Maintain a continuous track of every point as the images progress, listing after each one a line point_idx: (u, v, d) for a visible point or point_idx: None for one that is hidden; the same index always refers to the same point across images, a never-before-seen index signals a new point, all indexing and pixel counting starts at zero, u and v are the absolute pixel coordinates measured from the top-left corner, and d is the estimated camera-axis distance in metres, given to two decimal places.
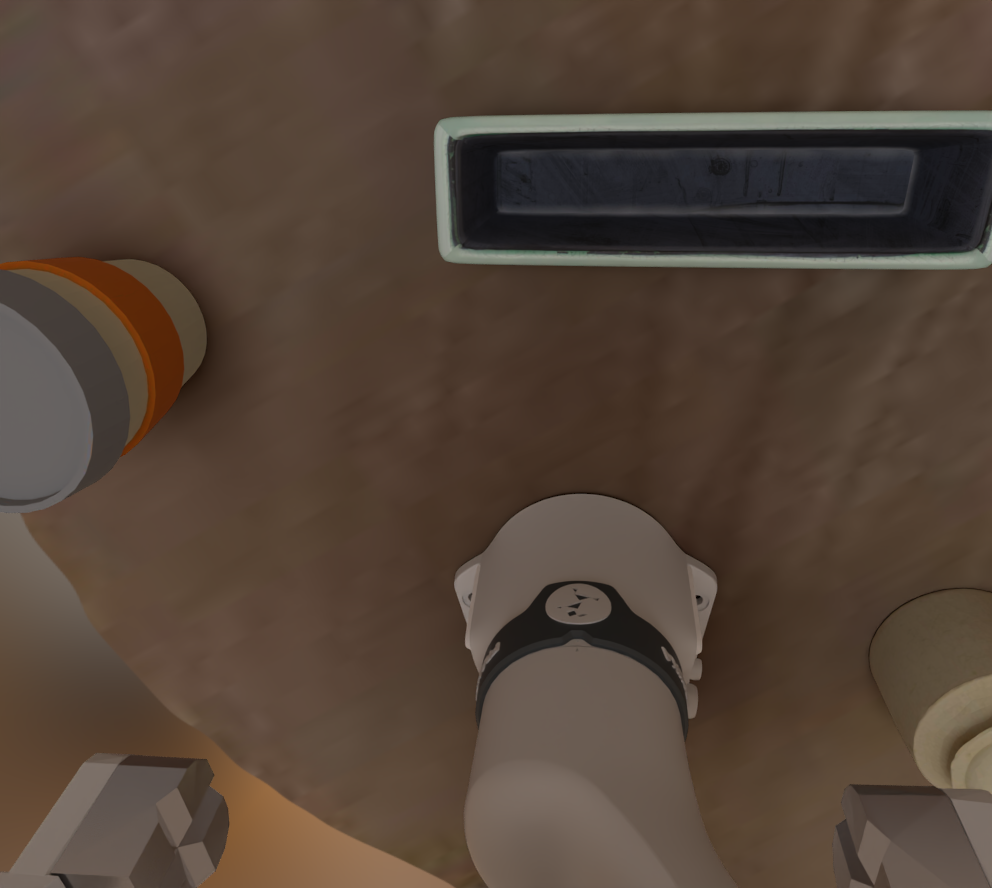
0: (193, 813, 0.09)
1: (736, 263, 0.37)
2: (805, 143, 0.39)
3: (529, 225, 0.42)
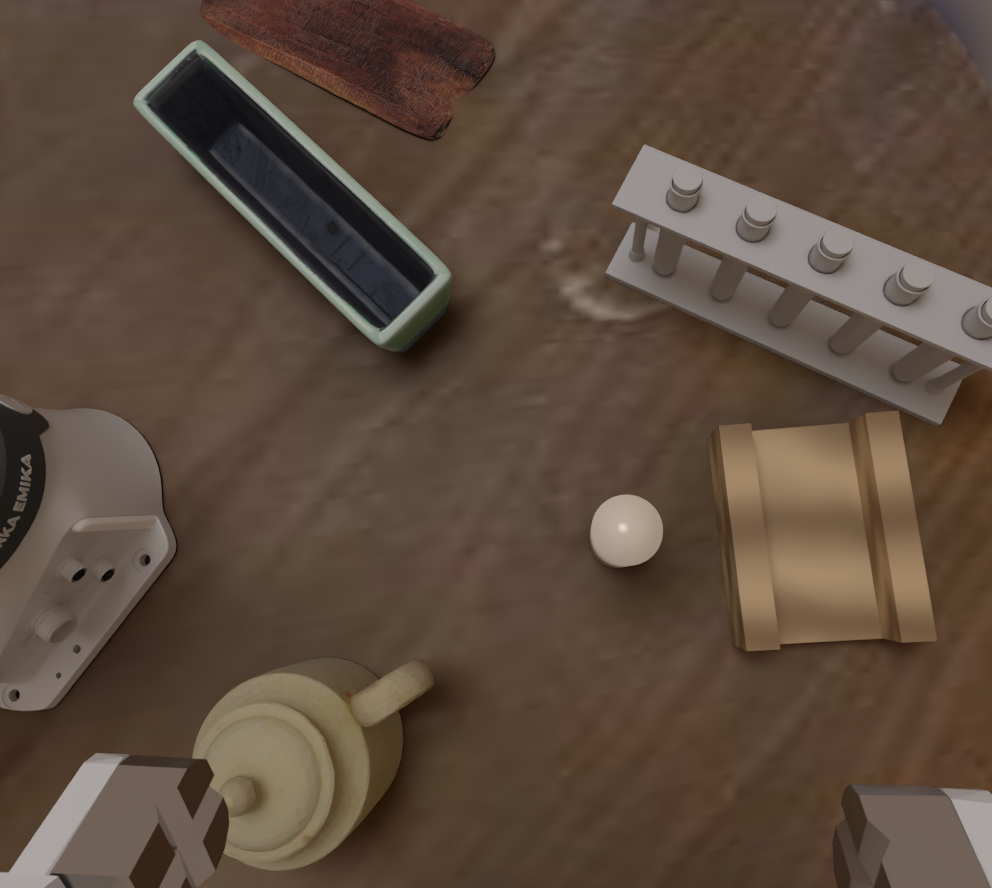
0: (193, 813, 0.09)
1: (261, 229, 0.51)
2: (372, 238, 0.55)
3: (207, 155, 0.57)
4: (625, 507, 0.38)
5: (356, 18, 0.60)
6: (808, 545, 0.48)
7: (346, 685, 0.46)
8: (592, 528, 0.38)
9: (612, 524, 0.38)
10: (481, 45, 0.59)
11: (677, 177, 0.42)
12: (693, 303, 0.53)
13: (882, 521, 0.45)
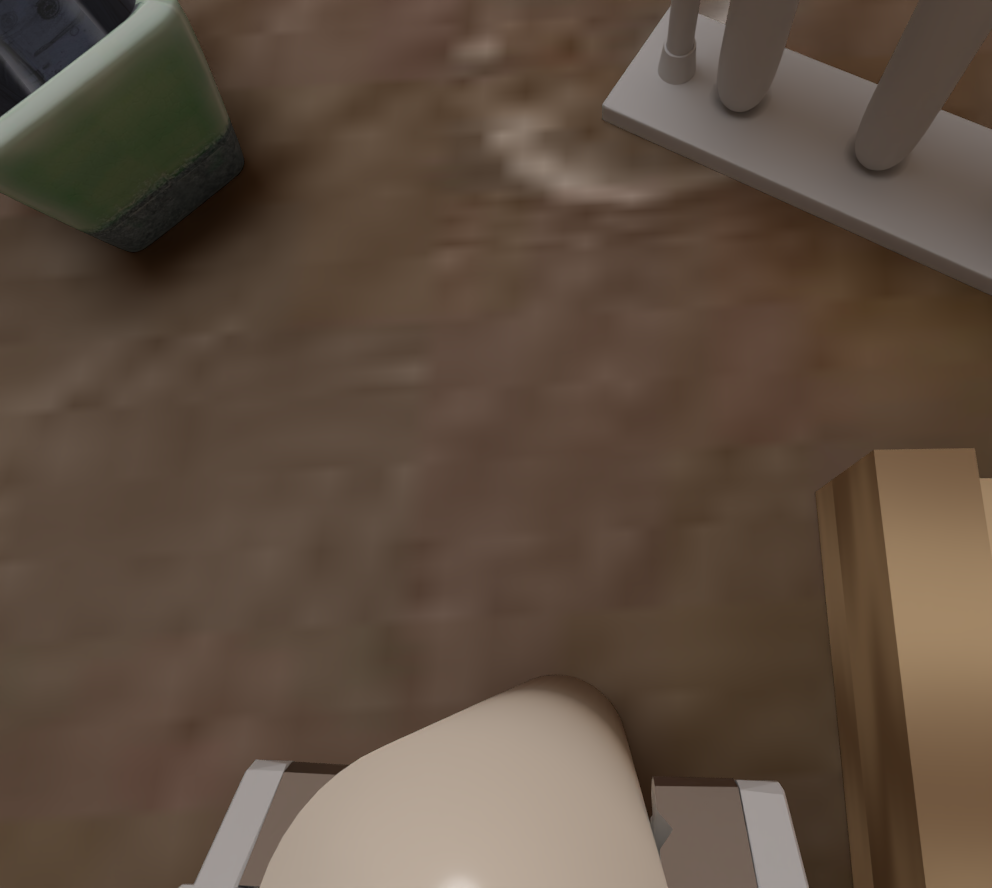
0: None
1: None
2: (92, 3, 0.25)
3: None
4: (463, 810, 0.06)
5: None
6: None
7: None
8: None
9: None
10: None
11: None
12: (808, 175, 0.22)
13: None
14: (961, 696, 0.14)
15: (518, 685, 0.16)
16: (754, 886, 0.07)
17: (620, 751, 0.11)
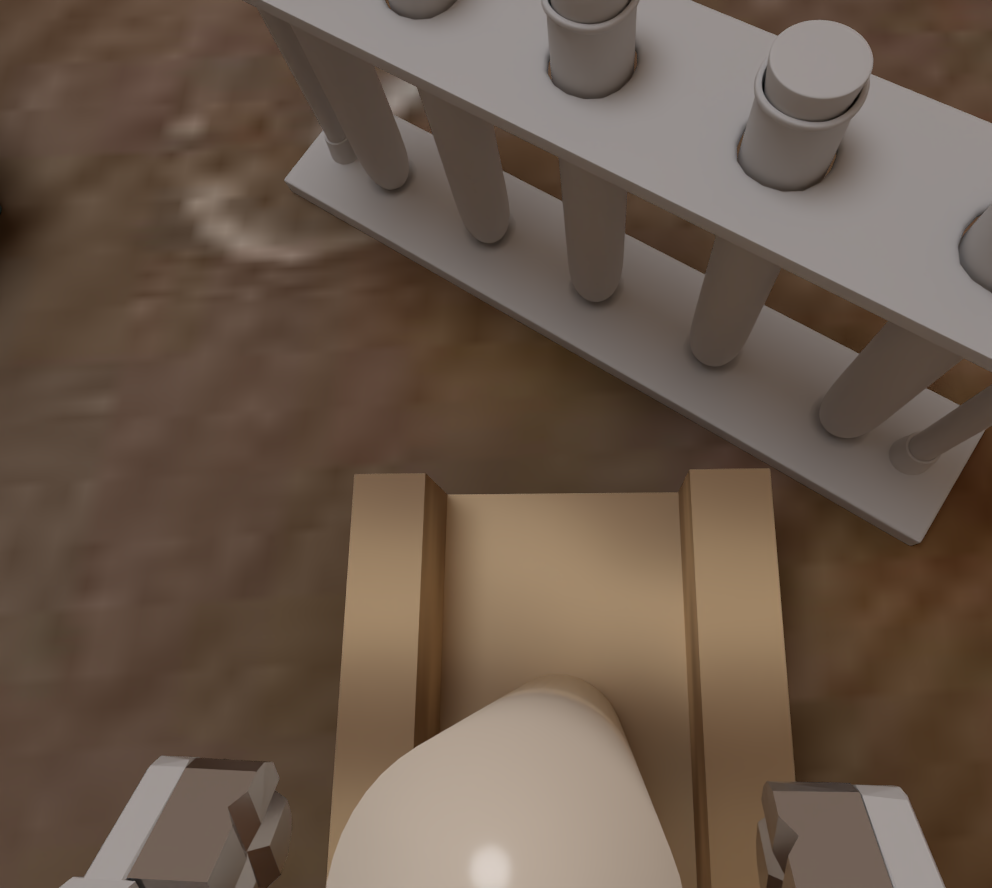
0: (262, 816, 0.09)
1: None
2: None
3: None
4: (503, 790, 0.08)
5: None
6: None
7: None
8: (331, 886, 0.08)
9: (434, 877, 0.07)
10: None
11: None
12: (433, 246, 0.26)
13: (703, 749, 0.17)
14: (381, 662, 0.19)
15: (524, 684, 0.18)
16: None
17: (624, 743, 0.12)
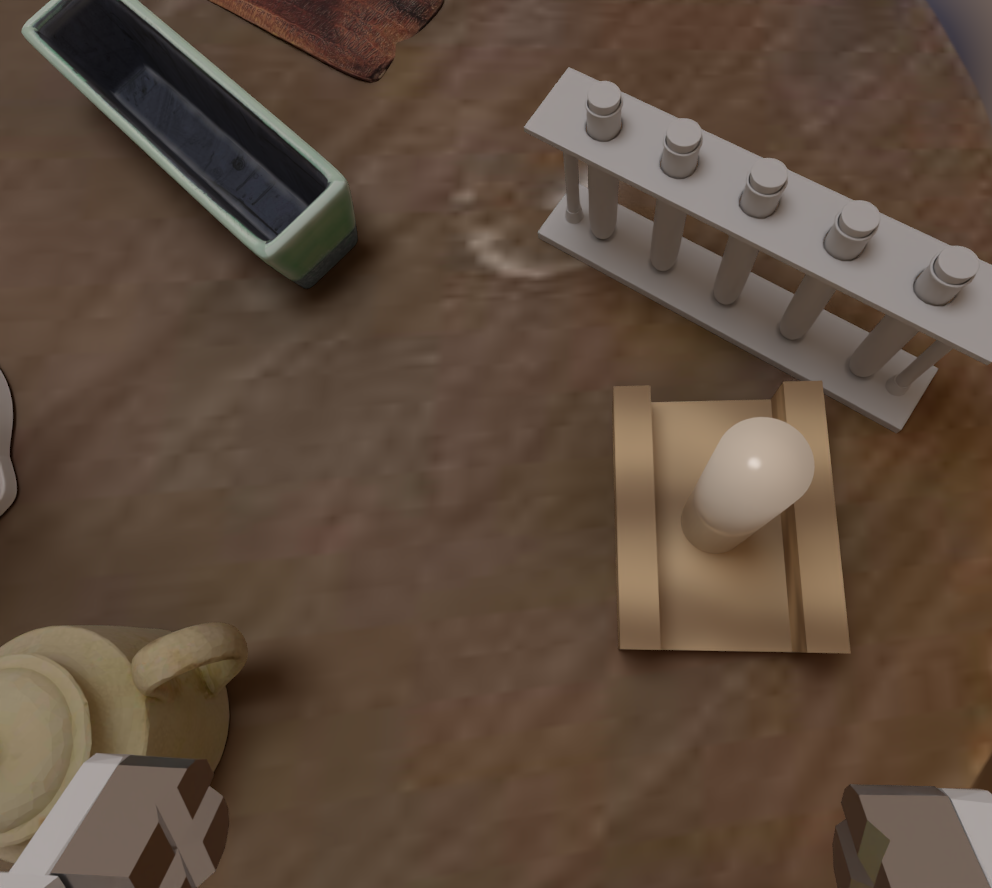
0: (193, 813, 0.09)
1: (145, 146, 0.47)
2: (274, 165, 0.51)
3: (106, 91, 0.54)
4: (761, 432, 0.28)
5: None
6: None
7: None
8: (716, 458, 0.28)
9: (744, 454, 0.28)
10: None
11: (592, 93, 0.36)
12: (630, 272, 0.47)
13: (794, 506, 0.38)
14: (635, 473, 0.40)
15: None
16: None
17: None
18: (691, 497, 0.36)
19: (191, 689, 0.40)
